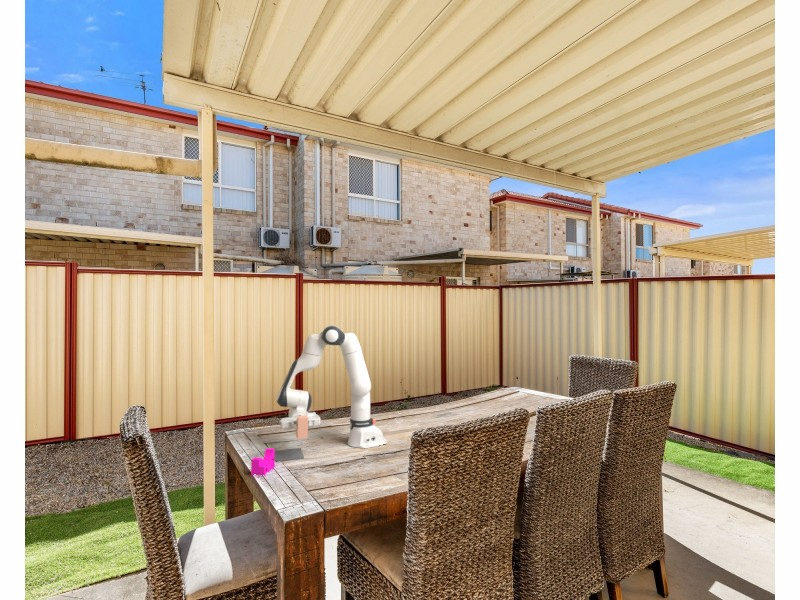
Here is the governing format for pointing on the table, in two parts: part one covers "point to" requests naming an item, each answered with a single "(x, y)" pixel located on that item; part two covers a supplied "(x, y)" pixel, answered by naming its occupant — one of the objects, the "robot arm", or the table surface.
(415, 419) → the table surface
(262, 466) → the toy block
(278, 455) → the mat
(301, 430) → the pillar block
